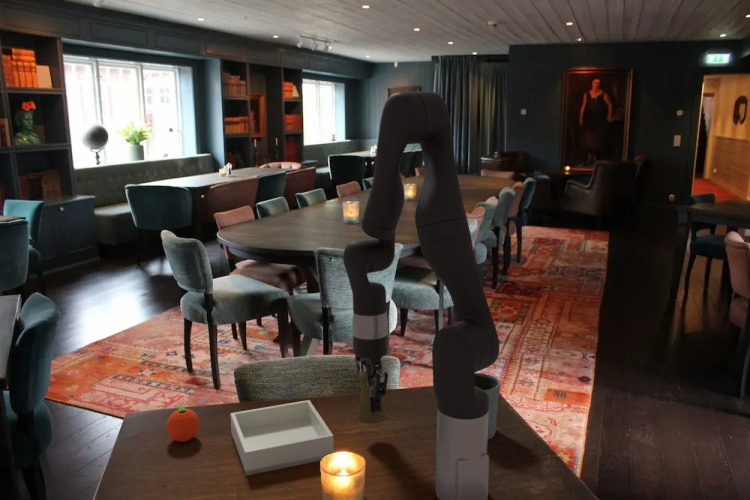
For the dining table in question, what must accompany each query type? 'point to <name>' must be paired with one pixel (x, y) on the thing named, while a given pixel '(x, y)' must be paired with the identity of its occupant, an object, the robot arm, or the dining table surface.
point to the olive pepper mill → (368, 404)
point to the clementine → (183, 424)
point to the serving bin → (280, 436)
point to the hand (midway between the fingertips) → (371, 407)
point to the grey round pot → (492, 390)
